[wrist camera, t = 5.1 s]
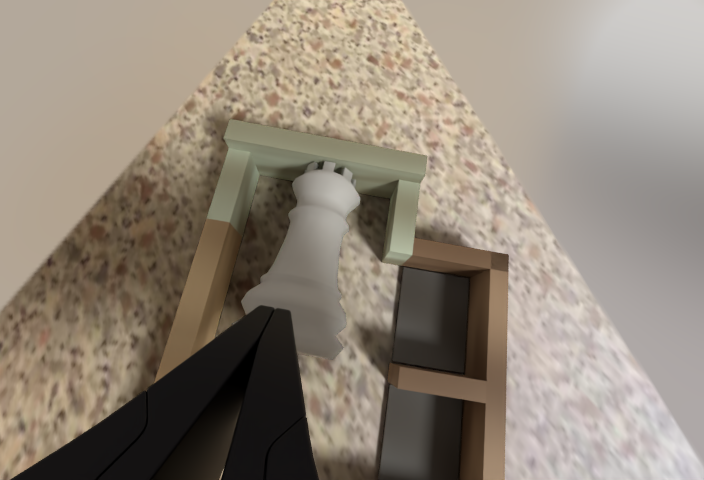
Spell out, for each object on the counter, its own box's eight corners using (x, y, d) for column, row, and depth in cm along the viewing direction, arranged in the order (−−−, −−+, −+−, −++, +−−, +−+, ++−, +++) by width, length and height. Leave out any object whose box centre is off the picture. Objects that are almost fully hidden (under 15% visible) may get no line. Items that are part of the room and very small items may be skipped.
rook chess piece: (365, 365, 12) (396, 182, 15) (250, 338, 10) (314, 130, 13) (307, 356, 15) (342, 209, 18) (213, 334, 13) (270, 172, 16)
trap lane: (470, 628, 12) (514, 714, 10) (120, 575, 12) (55, 650, 9) (488, 199, 18) (519, 172, 15) (245, 155, 17) (229, 118, 14)
